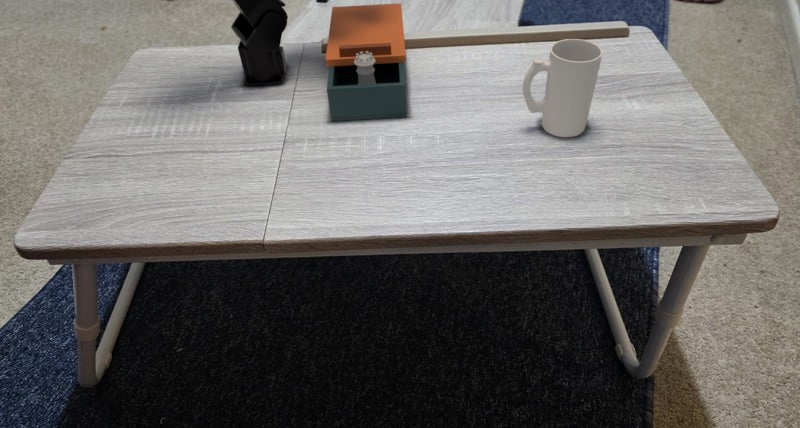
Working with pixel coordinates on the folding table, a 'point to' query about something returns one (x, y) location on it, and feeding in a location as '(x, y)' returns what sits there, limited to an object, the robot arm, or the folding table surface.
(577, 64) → the mug
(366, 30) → the bin lid
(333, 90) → the bin
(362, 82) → the rook chess piece
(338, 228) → the folding table surface
